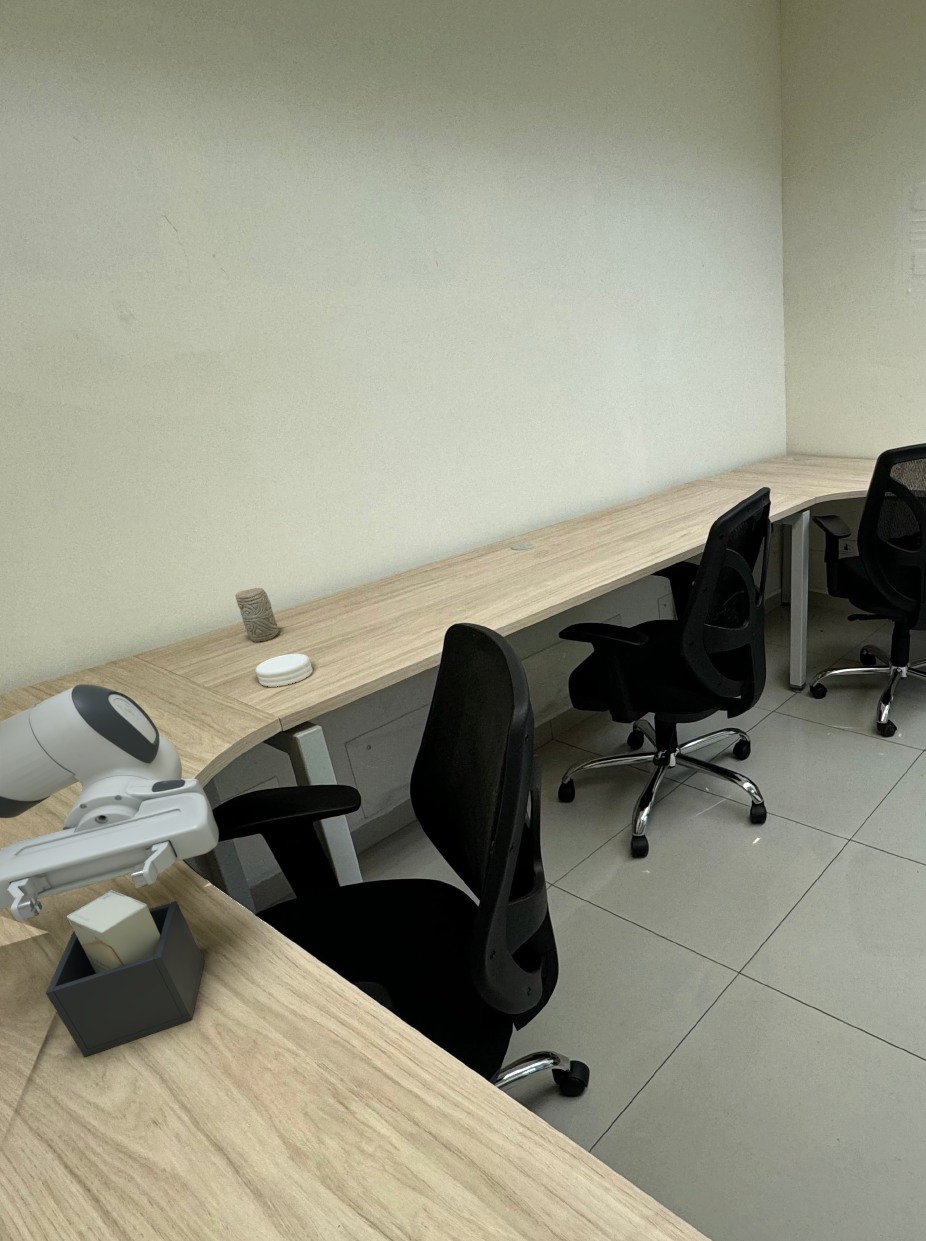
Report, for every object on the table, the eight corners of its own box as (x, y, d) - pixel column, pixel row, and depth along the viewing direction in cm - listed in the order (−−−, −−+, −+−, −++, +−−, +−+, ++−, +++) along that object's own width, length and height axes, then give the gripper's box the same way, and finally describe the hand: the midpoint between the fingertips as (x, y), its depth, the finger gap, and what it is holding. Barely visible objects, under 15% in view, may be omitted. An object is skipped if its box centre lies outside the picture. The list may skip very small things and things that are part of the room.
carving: (245, 645, 178) (228, 597, 172) (256, 634, 184) (240, 587, 179) (274, 641, 179) (258, 594, 174) (284, 630, 185) (269, 584, 180)
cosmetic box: (110, 1005, 80) (61, 917, 75) (154, 974, 84) (110, 888, 78) (147, 1023, 77) (98, 933, 72) (190, 990, 81) (147, 903, 76)
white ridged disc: (310, 663, 165) (306, 648, 164) (315, 678, 158) (311, 663, 156) (258, 676, 160) (253, 661, 159) (261, 692, 153) (255, 676, 151)
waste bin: (83, 1057, 75) (45, 993, 71) (106, 992, 83) (72, 931, 79) (192, 1020, 79) (160, 956, 75) (204, 960, 86) (176, 900, 82)
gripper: (-14, 827, 79) (-72, 908, 68) (212, 773, 87) (194, 838, 76) (13, 875, 82) (-39, 960, 71) (230, 818, 90) (215, 887, 78)
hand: (84, 896), depth 73 cm, fingers open, 8 cm apart
